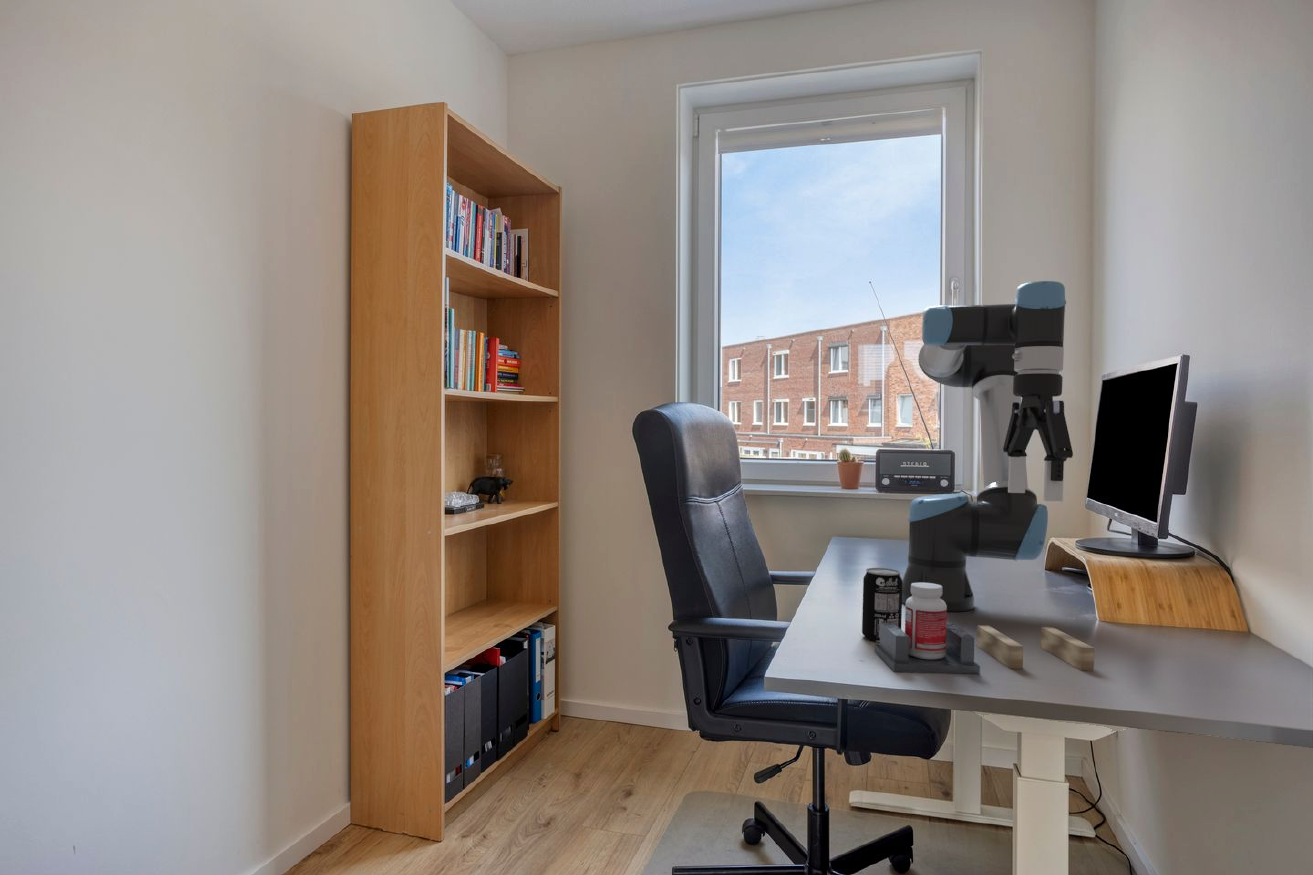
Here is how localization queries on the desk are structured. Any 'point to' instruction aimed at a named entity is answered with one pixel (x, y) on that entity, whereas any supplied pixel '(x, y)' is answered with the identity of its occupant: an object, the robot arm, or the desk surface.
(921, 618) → the pill bottle
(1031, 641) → the desk surface
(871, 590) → the beverage can
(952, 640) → the cradle
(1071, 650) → the guide channel
